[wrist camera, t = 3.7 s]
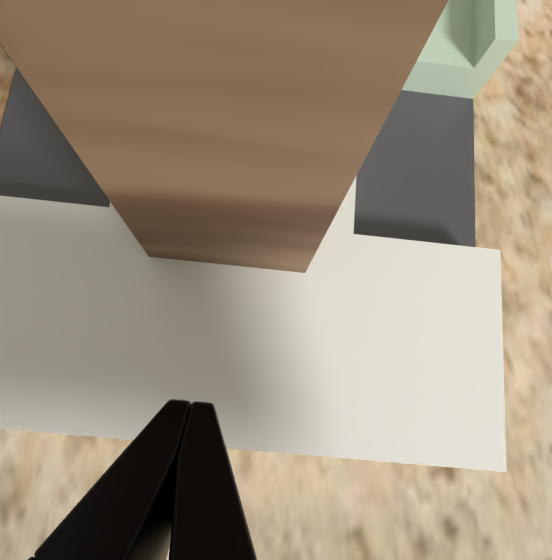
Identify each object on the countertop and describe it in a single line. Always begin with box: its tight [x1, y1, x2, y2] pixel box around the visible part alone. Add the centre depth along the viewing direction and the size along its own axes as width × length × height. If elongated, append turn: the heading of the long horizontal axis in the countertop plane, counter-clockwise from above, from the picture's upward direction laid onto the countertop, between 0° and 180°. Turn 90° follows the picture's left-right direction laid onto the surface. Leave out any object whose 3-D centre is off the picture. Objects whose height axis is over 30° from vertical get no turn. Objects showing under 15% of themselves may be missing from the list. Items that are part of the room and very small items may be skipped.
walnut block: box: [0, 0, 448, 273], centre depth 10 cm, size 5×5×11 cm
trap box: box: [0, 0, 518, 472], centre depth 16 cm, size 22×18×5 cm
